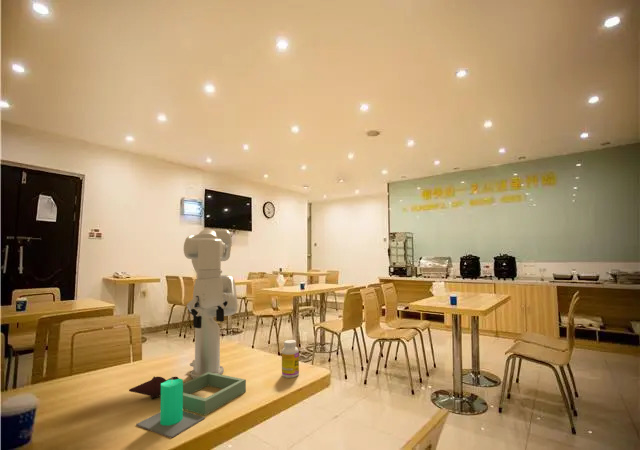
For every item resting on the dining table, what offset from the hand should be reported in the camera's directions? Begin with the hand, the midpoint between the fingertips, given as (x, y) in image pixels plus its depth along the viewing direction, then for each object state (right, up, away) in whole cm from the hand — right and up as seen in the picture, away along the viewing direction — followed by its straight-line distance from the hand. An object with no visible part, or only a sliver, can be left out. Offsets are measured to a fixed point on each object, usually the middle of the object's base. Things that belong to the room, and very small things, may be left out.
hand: (209, 324), depth 111 cm
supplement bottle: (+27, -25, +14) cm, 39 cm away
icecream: (-18, -24, -2) cm, 30 cm away
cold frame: (0, -24, -3) cm, 24 cm away
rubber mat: (-5, -22, -19) cm, 29 cm away
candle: (-5, -22, -18) cm, 29 cm away
